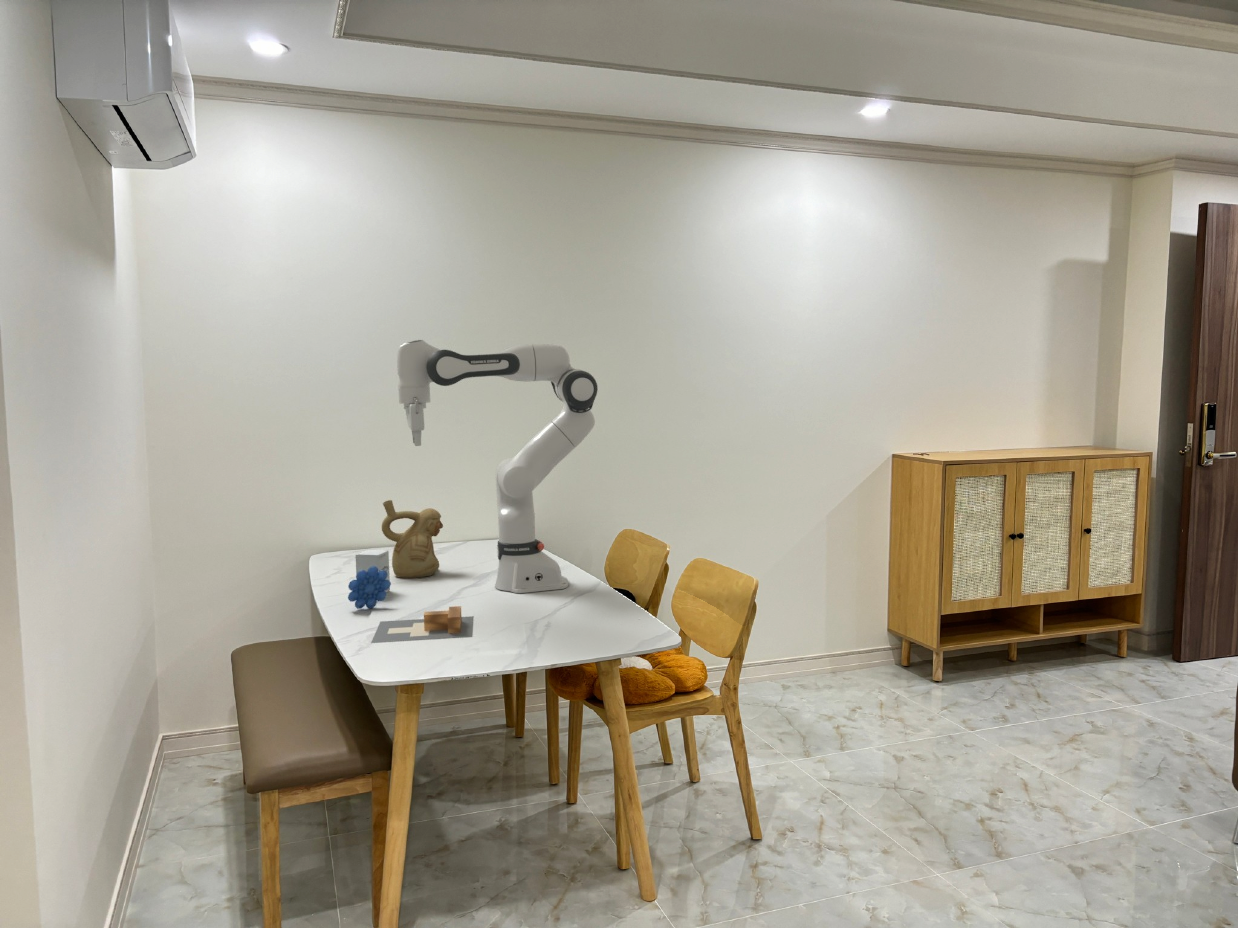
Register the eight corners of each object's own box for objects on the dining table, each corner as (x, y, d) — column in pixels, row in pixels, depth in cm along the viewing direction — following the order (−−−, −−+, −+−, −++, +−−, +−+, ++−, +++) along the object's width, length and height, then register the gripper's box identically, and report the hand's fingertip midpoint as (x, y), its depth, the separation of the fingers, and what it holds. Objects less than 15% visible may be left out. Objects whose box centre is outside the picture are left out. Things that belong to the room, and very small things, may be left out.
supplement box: (379, 597, 251) (377, 555, 250) (356, 596, 253) (354, 554, 251) (391, 590, 259) (389, 549, 257) (368, 589, 260) (366, 549, 259)
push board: (473, 619, 227) (473, 616, 227) (472, 640, 209) (472, 636, 209) (380, 625, 223) (380, 621, 223) (371, 646, 205) (371, 642, 205)
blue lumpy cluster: (390, 602, 245) (388, 561, 244) (392, 608, 239) (390, 566, 238) (347, 606, 241) (345, 565, 240) (348, 613, 235) (346, 570, 234)
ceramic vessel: (449, 576, 276) (446, 500, 273) (386, 583, 268) (383, 504, 266) (440, 565, 291) (437, 493, 288) (380, 571, 284) (377, 497, 281)
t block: (461, 621, 222) (461, 606, 222) (460, 632, 212) (459, 616, 212) (426, 623, 221) (425, 608, 220) (423, 634, 211) (422, 618, 211)
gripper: (428, 397, 238) (430, 446, 240) (423, 395, 258) (425, 441, 259) (404, 398, 236) (407, 448, 238) (402, 396, 256) (404, 442, 257)
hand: (417, 444), depth 249 cm, fingers open, 8 cm apart
